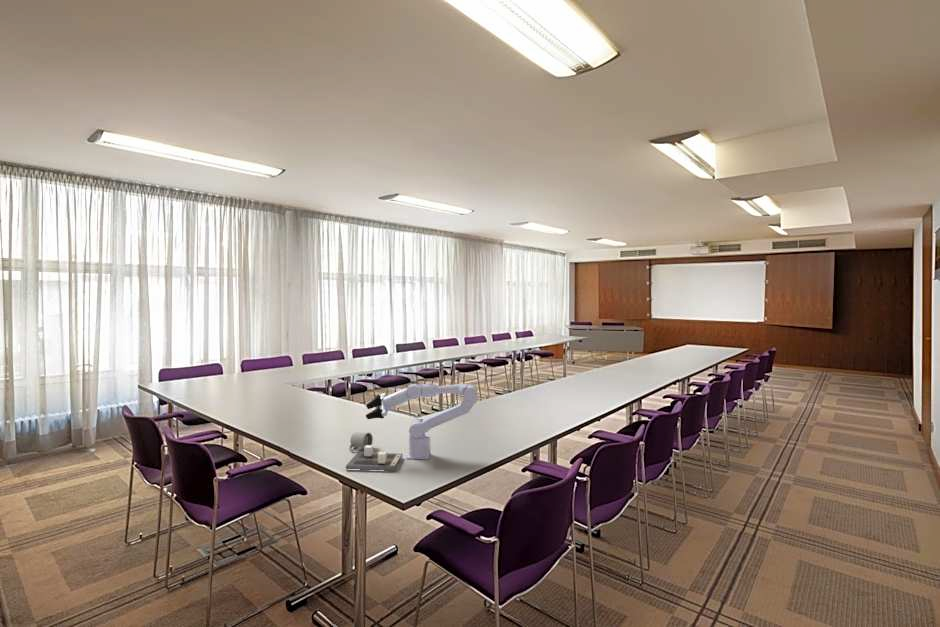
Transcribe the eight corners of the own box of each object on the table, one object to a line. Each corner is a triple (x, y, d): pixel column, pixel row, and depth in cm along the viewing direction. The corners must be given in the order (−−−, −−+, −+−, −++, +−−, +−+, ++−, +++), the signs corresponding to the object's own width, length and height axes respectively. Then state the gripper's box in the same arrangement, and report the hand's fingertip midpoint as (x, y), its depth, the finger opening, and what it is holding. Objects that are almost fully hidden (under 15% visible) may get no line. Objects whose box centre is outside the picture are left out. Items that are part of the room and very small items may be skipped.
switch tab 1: (372, 454, 202) (372, 445, 202) (371, 456, 199) (371, 447, 199) (366, 453, 202) (366, 445, 202) (364, 456, 199) (364, 447, 199)
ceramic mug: (358, 444, 222) (358, 428, 222) (373, 446, 219) (373, 430, 219) (344, 451, 212) (344, 435, 212) (359, 454, 209) (359, 437, 209)
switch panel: (402, 458, 204) (402, 453, 204) (394, 471, 188) (394, 466, 188) (357, 457, 205) (357, 452, 205) (345, 470, 189) (345, 465, 189)
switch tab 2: (386, 460, 194) (386, 451, 193) (385, 463, 191) (385, 454, 190) (379, 460, 194) (379, 451, 194) (377, 463, 191) (377, 454, 191)
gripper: (390, 384, 210) (363, 396, 210) (391, 402, 197) (362, 415, 197) (397, 395, 213) (370, 407, 213) (398, 414, 200) (369, 427, 200)
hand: (366, 412), depth 205 cm, fingers open, 7 cm apart
